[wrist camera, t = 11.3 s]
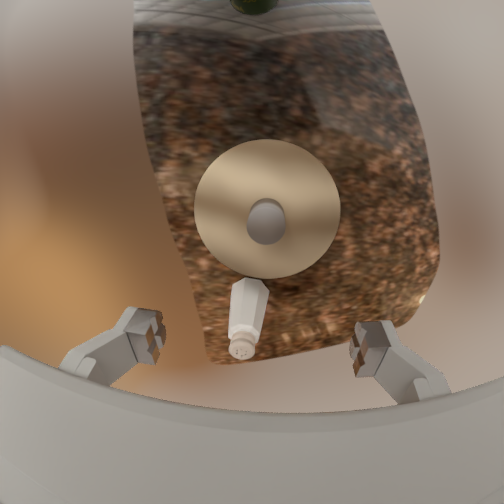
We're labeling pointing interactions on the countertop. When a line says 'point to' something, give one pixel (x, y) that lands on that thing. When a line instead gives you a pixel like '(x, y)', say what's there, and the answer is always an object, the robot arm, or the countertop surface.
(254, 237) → the lid
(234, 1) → the beer can
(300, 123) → the countertop surface
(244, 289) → the pepper shaker
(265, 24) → the countertop surface
